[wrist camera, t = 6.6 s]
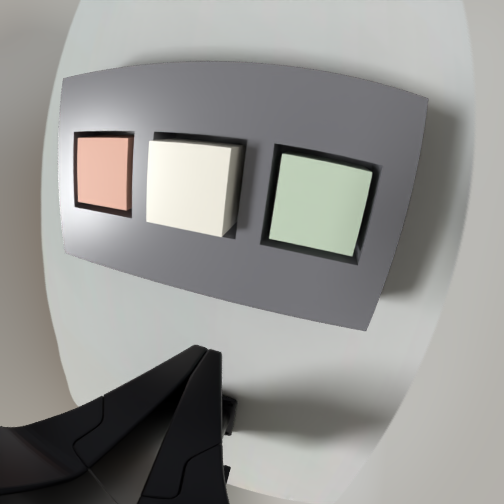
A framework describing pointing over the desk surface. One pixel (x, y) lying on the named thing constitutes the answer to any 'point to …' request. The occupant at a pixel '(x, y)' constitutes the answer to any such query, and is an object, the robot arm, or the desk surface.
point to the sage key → (319, 202)
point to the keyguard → (246, 179)
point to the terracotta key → (105, 170)
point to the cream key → (194, 184)
